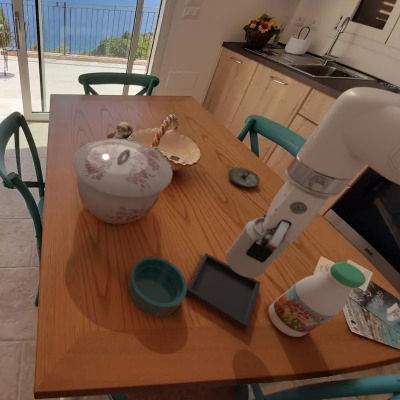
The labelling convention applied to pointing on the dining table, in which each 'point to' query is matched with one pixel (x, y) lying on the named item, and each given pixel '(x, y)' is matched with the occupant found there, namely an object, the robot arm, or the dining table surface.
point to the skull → (122, 131)
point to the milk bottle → (315, 299)
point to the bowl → (156, 286)
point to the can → (243, 242)
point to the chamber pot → (120, 178)
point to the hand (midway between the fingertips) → (258, 244)
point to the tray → (224, 291)
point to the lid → (244, 177)
